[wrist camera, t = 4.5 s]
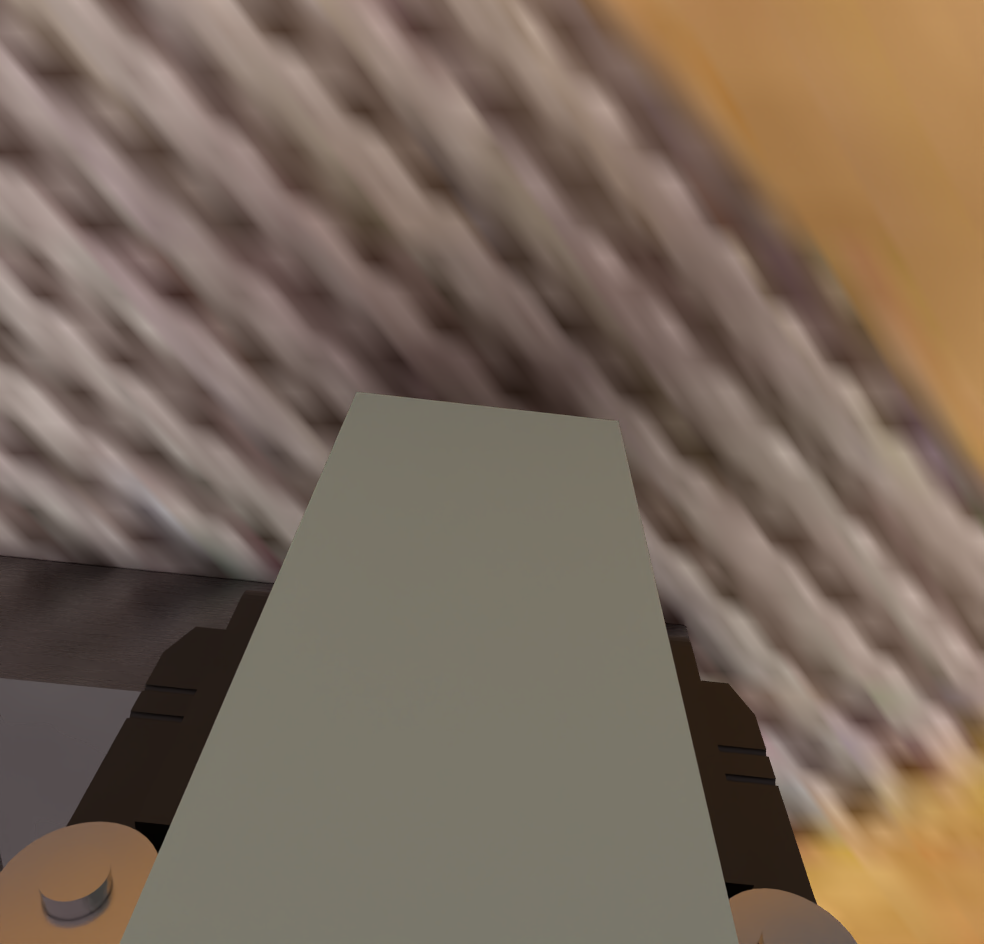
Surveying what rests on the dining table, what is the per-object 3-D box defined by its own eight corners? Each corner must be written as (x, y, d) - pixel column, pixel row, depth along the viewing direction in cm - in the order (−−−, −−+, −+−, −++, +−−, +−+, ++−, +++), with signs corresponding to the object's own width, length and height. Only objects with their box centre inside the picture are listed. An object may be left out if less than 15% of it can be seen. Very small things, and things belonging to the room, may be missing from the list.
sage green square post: (618, 420, 14) (791, 1170, 5) (578, 631, 16) (651, 1455, 7) (356, 391, 14) (51, 1101, 5) (347, 606, 16) (114, 1408, 7)
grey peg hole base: (685, 626, 19) (719, 748, 16) (593, 978, 25) (605, 1118, 22) (-384, 517, 18) (-566, 623, 15) (-230, 905, 24) (-340, 1040, 21)
